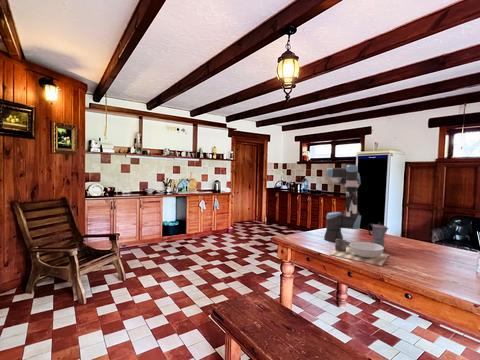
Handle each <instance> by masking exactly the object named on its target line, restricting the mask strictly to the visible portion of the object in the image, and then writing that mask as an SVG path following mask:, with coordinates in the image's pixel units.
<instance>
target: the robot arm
mask: <svg viewBox="0 0 480 360" xmlns="http://www.w3.org/2000/svg"><path fill="white" fill-rule="evenodd" d="M358 170H359V169H358V165H352V164H351V165H350V164H348V165H346V167H329V168H326V177H327V178H329V179H330V181H331V182H332V183H334V184H335V185H340V186H344V187H345V189H346V190H345V191H346V192H345V196H346V197H345V204H344V208H345V211H344V212H343V213H342V212H341V211H333V212H327V214H326V227H325V228H326V230H325V233H324V236H323V239H324V240H325V241H327V242H332V243H335V239H341V240H344V236H343V234H342V229H345V230H346V229H348V230H359V229H360V226H361V221H362V220H361V219H362V215H360V212H359V211H358V205H359V203H358V188H359V187H360V185H361V182H362V181H361V176H360V173H359V172H358Z"/></svg>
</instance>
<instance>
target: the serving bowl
mask: <svg viewBox="0 0 480 360" xmlns="http://www.w3.org/2000/svg"><path fill="white" fill-rule="evenodd" d="M348 245H349V246H348V247H350V249H351V251H352V252H353V253H354V254H356V255H358V256H361V257H365V258H373V257H378V256H380V255H381V254H382V253H383V254H384V250H385V246H384V247H383V246H381V245H378V244H375V243H372V242H370V241H353V242H350V243H349V244H348Z"/></svg>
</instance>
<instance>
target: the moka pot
mask: <svg viewBox="0 0 480 360" xmlns="http://www.w3.org/2000/svg"><path fill="white" fill-rule="evenodd" d="M370 227H371V228H372V229H371V230H372V233H371V230H370ZM388 230H389V228H388V227H387V226H385V225H383V224H381V222H378V223H377V224H374V223H371V222H370V223H368V224H367V232H368V235H369V236H371V237H372V240H371V243H375V244H378V245H381V246H383V247H384V248H385V234H386V233H387V232H388Z"/></svg>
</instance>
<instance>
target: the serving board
mask: <svg viewBox="0 0 480 360" xmlns="http://www.w3.org/2000/svg"><path fill="white" fill-rule="evenodd" d="M334 243H335V244H334V245H335V246H334V247H335V250H333V251H332V252H330V253H329V256H332V257H338V258H342V259H347V260H352V261H355V262H356V261H357V262H362V263H366V264H370V265H375V266H380V267H382V266H383V264H384V263H385V262H386V260H387V259H388V258H389V256H390V255H389V254H388V253H384V252H383V253H382V254H381V255H380V256H378V257H373V258H365V257H361V256H358V255H356V254H354V253H353V252H352V251H351V249H350V246H347V240H346V239H343V240H341V239H335V242H334Z"/></svg>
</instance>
